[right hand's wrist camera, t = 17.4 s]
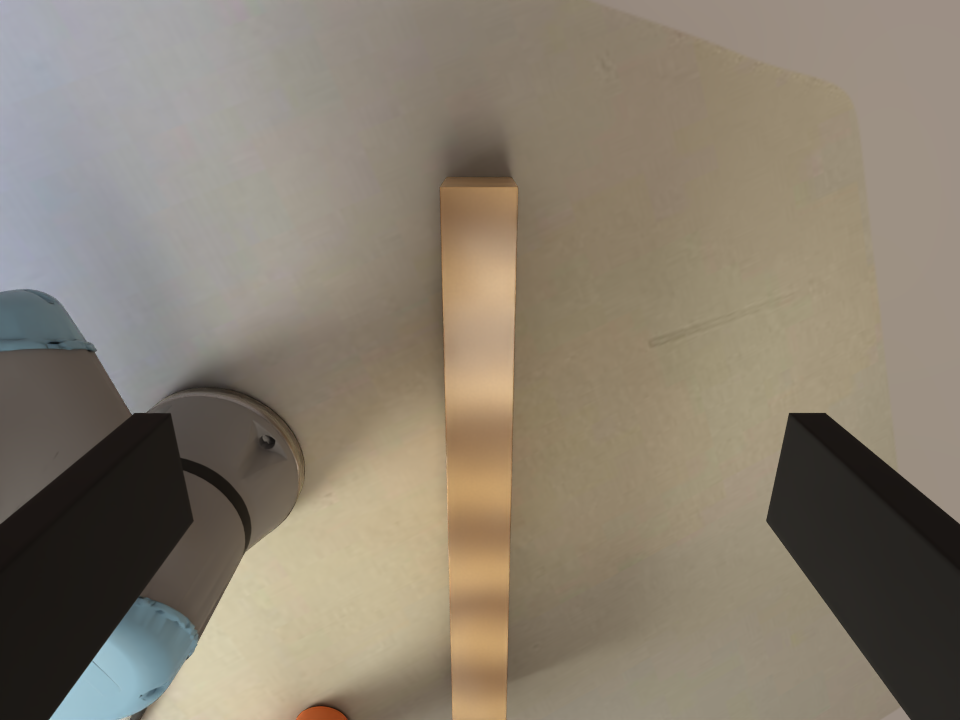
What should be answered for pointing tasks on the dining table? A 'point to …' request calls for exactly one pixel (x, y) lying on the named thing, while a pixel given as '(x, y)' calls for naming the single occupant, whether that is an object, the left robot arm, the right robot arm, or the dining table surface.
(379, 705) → the dining table surface
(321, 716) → the cup with straw
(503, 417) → the beam
